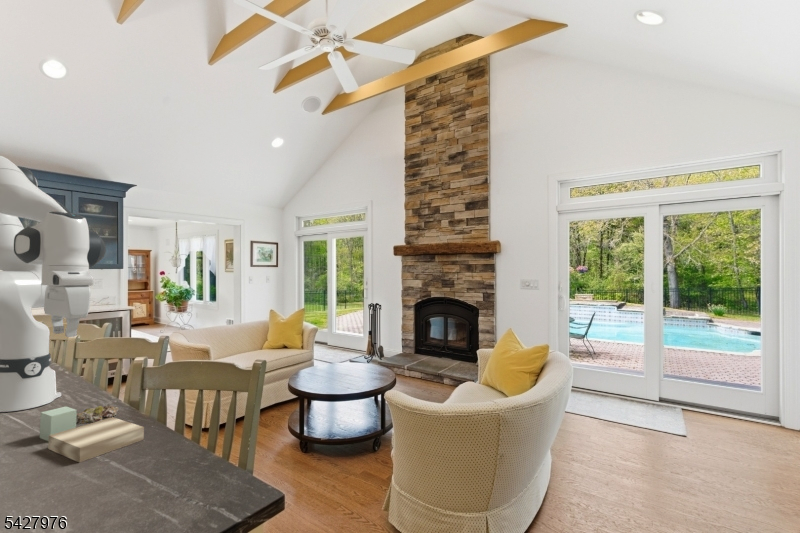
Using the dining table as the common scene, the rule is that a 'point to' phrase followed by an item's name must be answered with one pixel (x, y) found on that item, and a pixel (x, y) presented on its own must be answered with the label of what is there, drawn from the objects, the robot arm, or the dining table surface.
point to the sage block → (57, 421)
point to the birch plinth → (95, 439)
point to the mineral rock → (96, 414)
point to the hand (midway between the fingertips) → (64, 335)
